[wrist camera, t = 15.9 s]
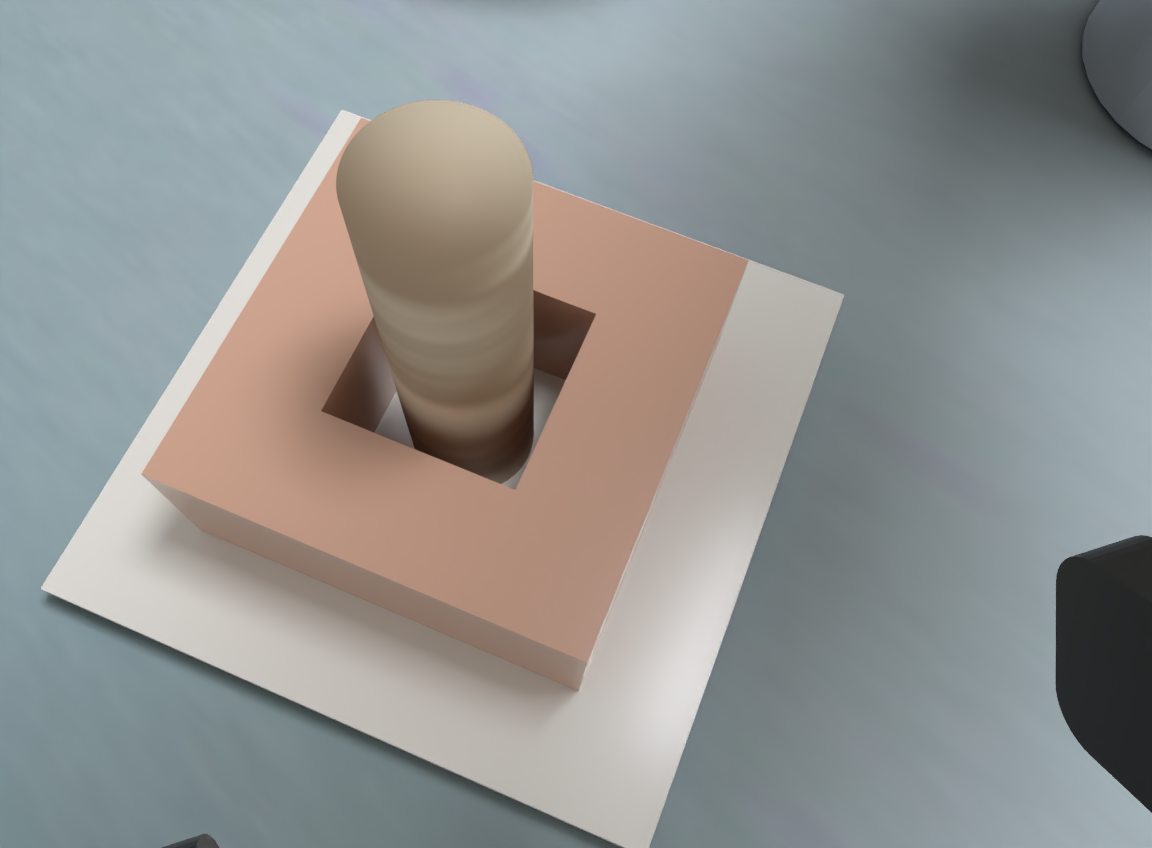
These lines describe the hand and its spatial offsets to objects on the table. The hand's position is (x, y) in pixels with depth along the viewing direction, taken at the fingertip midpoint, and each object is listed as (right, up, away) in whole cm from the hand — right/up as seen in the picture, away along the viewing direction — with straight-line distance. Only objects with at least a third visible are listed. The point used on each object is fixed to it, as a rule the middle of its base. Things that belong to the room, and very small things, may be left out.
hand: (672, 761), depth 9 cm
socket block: (-4, +3, +20) cm, 21 cm away
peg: (-4, +3, +19) cm, 20 cm away
